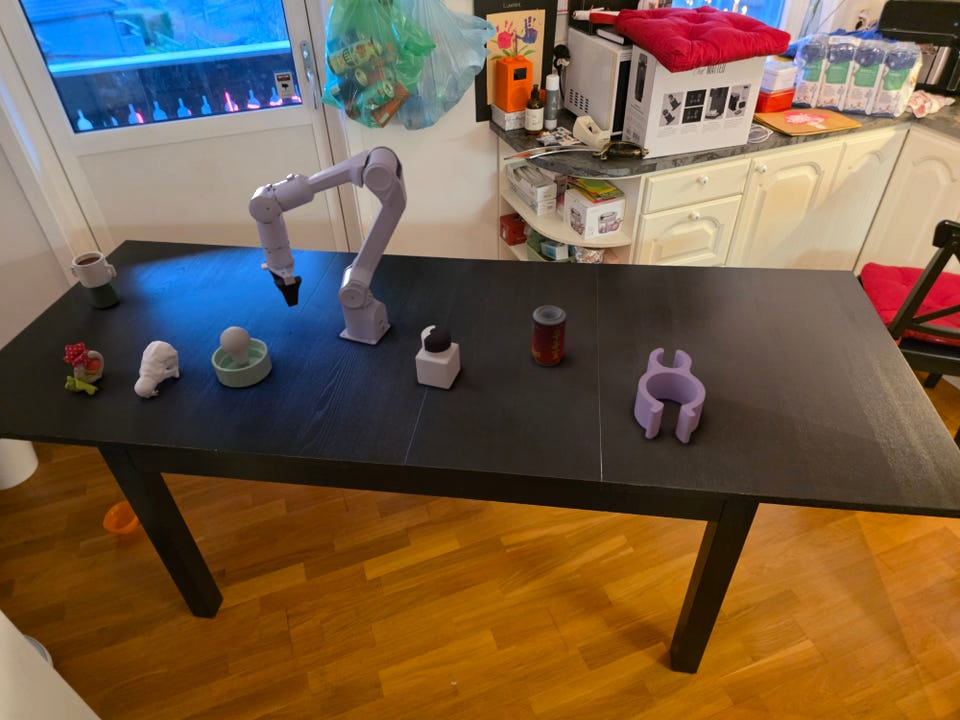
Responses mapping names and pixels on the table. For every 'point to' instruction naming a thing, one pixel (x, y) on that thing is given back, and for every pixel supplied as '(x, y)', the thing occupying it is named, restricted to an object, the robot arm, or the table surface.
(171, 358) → the white crouching figurine
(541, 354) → the soda can
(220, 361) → the bowl
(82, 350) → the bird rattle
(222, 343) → the lightbulb
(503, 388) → the table surface
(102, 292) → the character mug
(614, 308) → the table surface
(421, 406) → the table surface
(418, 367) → the medicine bottle
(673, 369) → the clip
